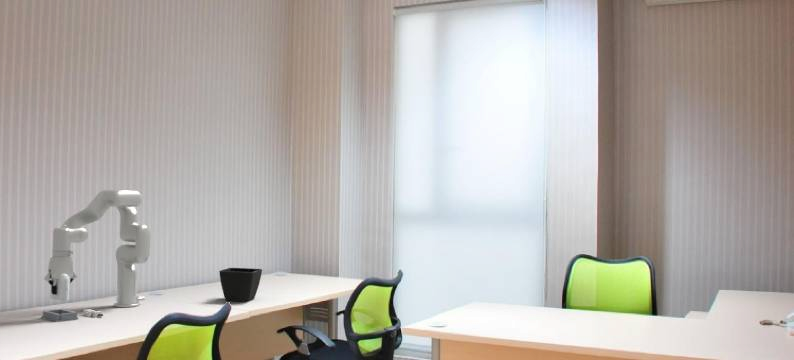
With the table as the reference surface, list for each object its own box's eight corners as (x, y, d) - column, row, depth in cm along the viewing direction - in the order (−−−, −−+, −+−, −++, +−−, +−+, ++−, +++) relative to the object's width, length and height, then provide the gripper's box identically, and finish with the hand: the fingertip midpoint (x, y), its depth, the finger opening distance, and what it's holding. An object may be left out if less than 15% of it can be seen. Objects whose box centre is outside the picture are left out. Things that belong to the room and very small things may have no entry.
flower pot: (262, 298, 410) (262, 268, 410) (252, 303, 391) (252, 271, 391) (229, 297, 412) (230, 267, 412) (218, 302, 393) (218, 270, 393)
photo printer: (71, 299, 335) (71, 273, 335) (62, 301, 331) (63, 273, 331) (57, 298, 340) (57, 271, 340) (48, 299, 336) (49, 272, 336)
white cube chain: (90, 313, 349) (90, 308, 349) (103, 317, 341) (103, 312, 341) (82, 314, 346) (82, 309, 346) (95, 318, 338) (95, 313, 338)
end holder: (62, 315, 344) (62, 308, 344) (78, 319, 334) (78, 312, 335) (41, 317, 336) (41, 311, 336) (56, 322, 327) (56, 314, 327)
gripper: (75, 252, 345) (74, 291, 345) (39, 254, 332) (37, 294, 331) (83, 253, 340) (81, 292, 340) (46, 255, 327) (45, 296, 327)
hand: (60, 293), depth 336 cm, fingers closed on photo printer, 4 cm apart
